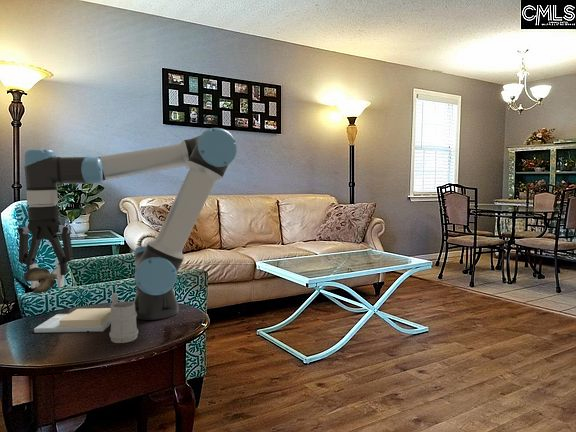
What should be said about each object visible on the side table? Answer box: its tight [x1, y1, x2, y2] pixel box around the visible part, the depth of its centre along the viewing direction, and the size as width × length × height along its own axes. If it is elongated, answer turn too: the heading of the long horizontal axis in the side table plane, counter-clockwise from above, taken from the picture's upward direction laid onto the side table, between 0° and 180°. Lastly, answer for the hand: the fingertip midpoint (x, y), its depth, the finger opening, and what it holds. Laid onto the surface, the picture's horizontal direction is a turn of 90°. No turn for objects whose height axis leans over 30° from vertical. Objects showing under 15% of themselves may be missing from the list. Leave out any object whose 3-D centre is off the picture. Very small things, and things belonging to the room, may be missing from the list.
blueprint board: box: [33, 307, 111, 334], centre depth 136 cm, size 20×14×3 cm
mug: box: [108, 292, 139, 344], centre depth 125 cm, size 8×12×12 cm, turn 44°
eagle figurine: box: [22, 267, 57, 295], centre depth 122 cm, size 8×7×9 cm
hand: (48, 286), depth 124 cm, fingers closed on eagle figurine, 7 cm apart
